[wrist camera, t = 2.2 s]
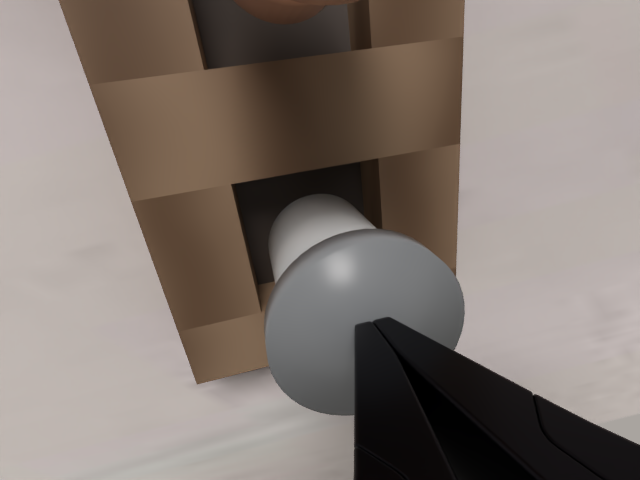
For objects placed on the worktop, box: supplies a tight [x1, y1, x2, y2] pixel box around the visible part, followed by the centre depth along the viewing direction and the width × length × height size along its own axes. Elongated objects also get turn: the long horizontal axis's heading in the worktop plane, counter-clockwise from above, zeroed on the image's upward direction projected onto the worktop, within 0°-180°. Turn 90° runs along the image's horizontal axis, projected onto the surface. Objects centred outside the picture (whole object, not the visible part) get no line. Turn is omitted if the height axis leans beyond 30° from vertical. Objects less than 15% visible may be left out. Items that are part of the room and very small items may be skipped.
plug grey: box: [264, 194, 465, 415], centre depth 11 cm, size 5×5×6 cm
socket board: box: [59, 0, 465, 384], centre depth 13 cm, size 12×20×2 cm, turn 7°
